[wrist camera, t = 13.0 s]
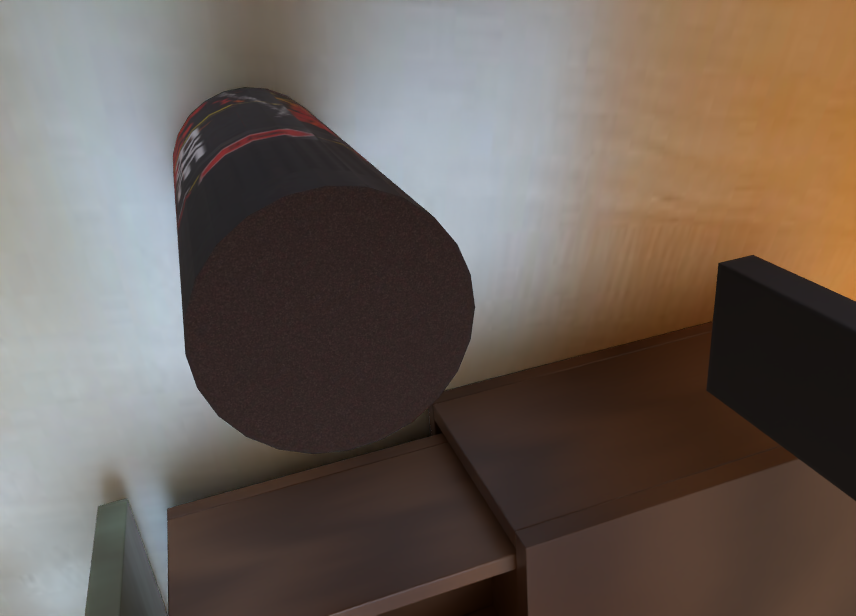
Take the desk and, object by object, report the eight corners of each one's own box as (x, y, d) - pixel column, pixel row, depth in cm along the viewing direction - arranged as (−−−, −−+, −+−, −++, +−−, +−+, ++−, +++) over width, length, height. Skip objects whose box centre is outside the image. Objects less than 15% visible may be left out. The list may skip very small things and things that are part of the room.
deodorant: (317, 249, 30) (439, 455, 17) (164, 231, 27) (167, 451, 14) (344, 104, 28) (505, 208, 15) (181, 71, 25) (203, 160, 12)
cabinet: (448, 615, 41) (534, 803, 31) (426, 395, 34) (525, 548, 25) (726, 519, 45) (872, 657, 36) (752, 310, 39) (938, 412, 30)
